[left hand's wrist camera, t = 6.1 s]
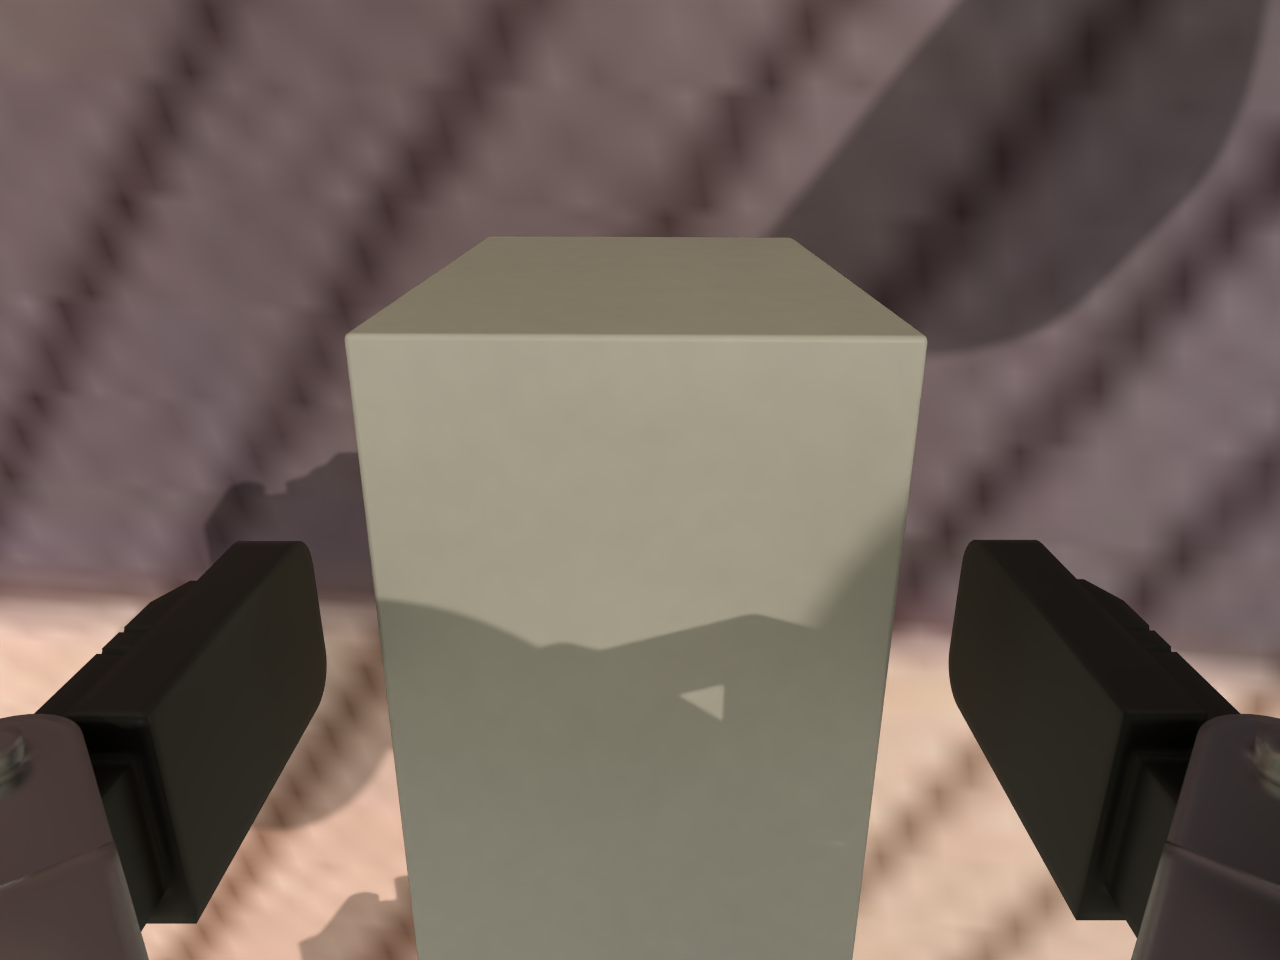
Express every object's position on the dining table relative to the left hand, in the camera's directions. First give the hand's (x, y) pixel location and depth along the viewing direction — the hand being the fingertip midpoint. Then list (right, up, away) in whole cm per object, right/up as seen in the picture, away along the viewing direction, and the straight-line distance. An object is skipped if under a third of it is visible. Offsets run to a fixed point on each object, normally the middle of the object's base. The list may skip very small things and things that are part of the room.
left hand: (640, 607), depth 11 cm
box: (0, -6, +12) cm, 14 cm away
